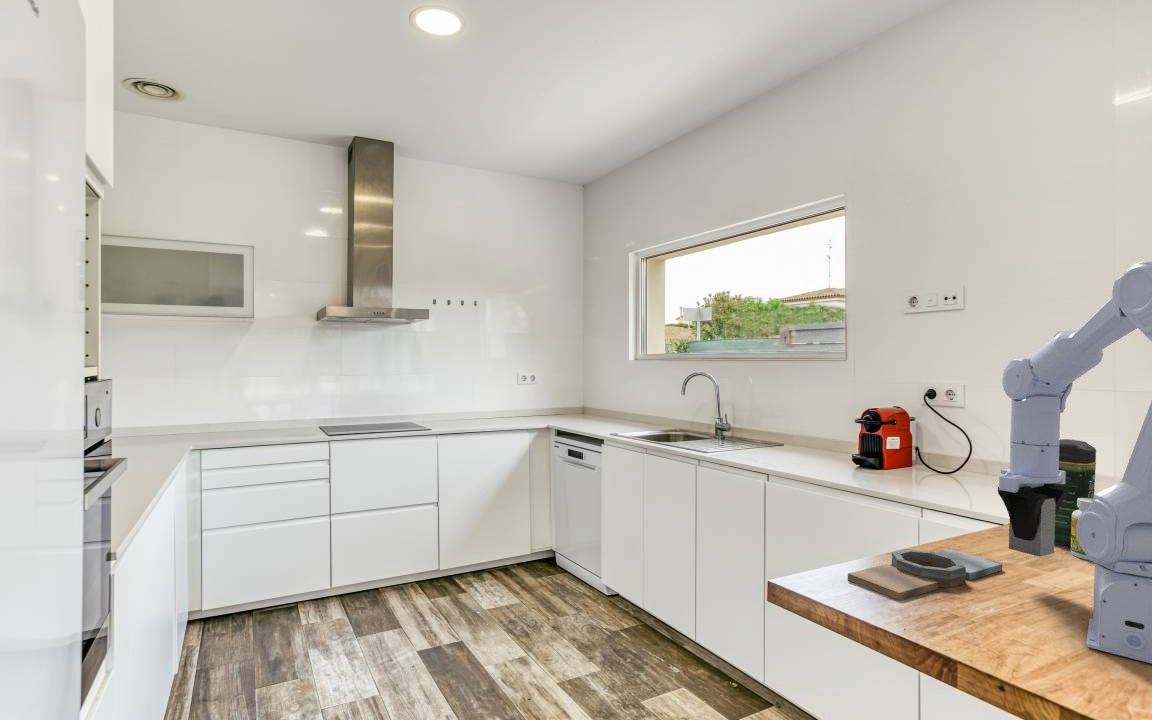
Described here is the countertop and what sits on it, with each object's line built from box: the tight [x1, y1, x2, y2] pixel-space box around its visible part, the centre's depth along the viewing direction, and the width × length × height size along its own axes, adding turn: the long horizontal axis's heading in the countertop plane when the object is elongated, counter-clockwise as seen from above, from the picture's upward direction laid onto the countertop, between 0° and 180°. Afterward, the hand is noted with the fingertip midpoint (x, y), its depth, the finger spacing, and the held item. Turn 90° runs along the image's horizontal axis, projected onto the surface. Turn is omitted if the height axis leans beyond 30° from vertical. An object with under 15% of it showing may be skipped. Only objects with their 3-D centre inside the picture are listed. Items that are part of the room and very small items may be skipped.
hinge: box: [847, 548, 1003, 601], centre depth 93 cm, size 26×9×2 cm, turn 119°
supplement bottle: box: [1070, 498, 1093, 561], centre depth 103 cm, size 5×5×10 cm
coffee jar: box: [1054, 438, 1097, 546], centre depth 112 cm, size 10×8×19 cm
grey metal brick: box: [1008, 496, 1056, 558], centre depth 89 cm, size 4×4×8 cm
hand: (1031, 536), depth 89 cm, fingers closed on grey metal brick, 4 cm apart
